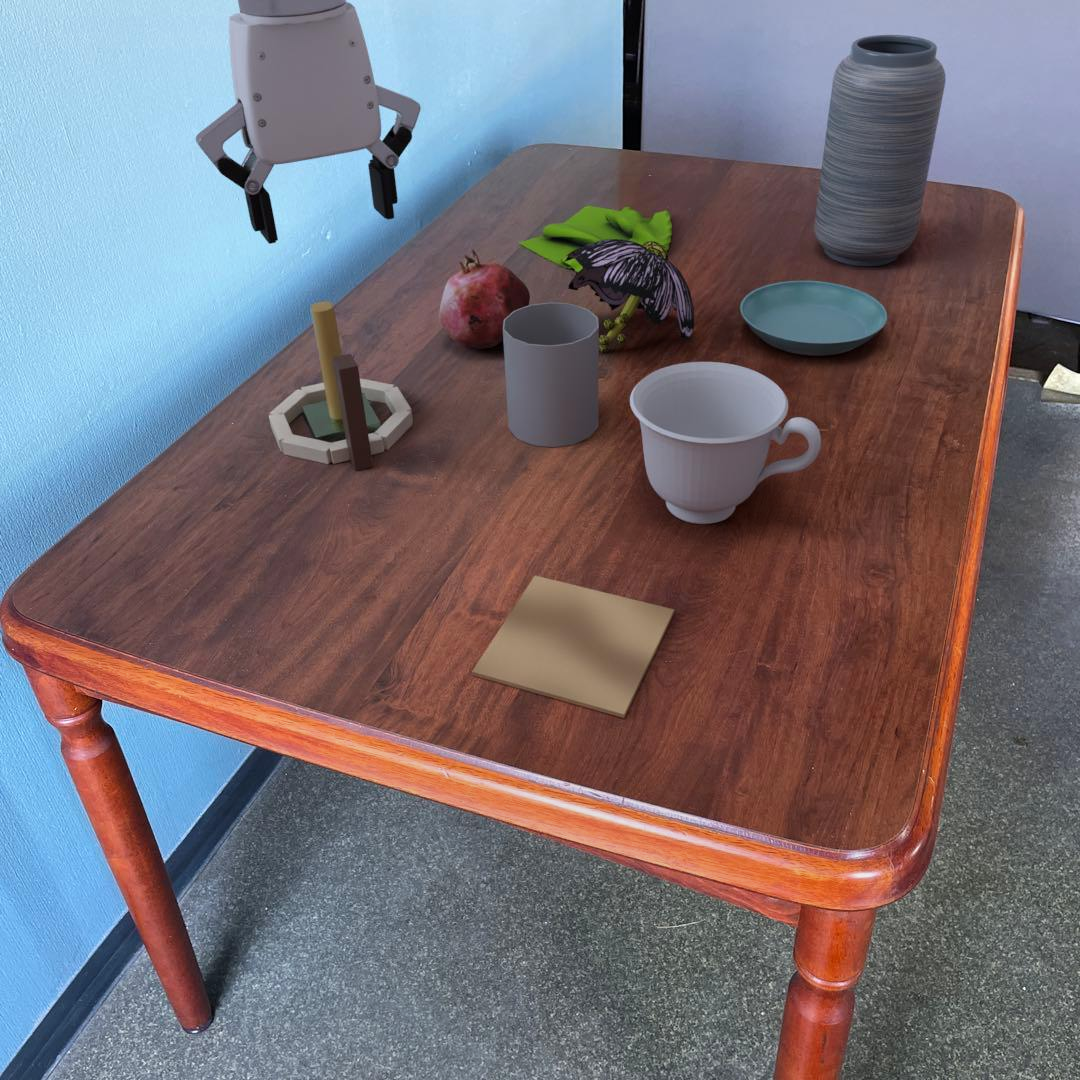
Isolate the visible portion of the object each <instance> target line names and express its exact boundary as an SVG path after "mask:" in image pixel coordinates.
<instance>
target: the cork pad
mask: <svg viewBox="0 0 1080 1080" xmlns="http://www.w3.org/2000/svg"><path fill="white" fill-rule="evenodd" d="M675 611H676V610H675V609H674V608H670V607H666V606H662V605H658V604H654V603H649V602H646V601H641V600H637V599H634V598H629V597H626V596H621V595H616V594H612V593H610V592H609V593H608V592H604V591H600V590H597V589H593V588H589V587H584V586H580V585H577V584H572V583H568V582H564V581H559V580H556V579H551V578H547V577H543V576H539V575H533V578H532V579H531V581H529V584H528V585H527V587H526V588H525V589H524V591H523V593H522V594H521V596H519V599H518V601H517V602H516V603H515V605H514V607H513V608H512V609H511V611H510V612H509V614H508V616H507V617H506V619H505V621H504V622H503V624H502V625H501V626H500V628H499V630H498V631H497V632H496V634H495V635H494V637H493V639H492V640H491V642H490V643H489V645H488V646H487V648H486V649H485V650H484V652H483V654H482V655H481V657H480V658H479V660H478V661H477V662H476V665H475V666H474V667H473V669H472V671H471V675H472V676H474V677H476V678H481V679H484V680H488V681H490V682H493V683H494V682H495V683H498V684H501V685H505V686H509V687H512V688H515V689H519V690H522V691H527V692H530V693H532V694H536V695H541V696H544V697H548V698H551V699H555V700H559V701H562V702H564V703H568V704H572V705H577V706H580V707H583V708H586V709H590V710H593V711H597V712H601V713H604V714H608V715H611V716H615V717H619V718H621V719H625V718H626V716H627V713H628V712H629V709H630V707H631V706H632V703H633V701H634V699H635V697H636V694H637V693H638V690H639V689H640V686H641V685H642V683H643V680H644V677H645V676H646V674H647V672H648V670H649V668H650V665H651V664H652V661H653V659H654V657H655V655H656V653H657V651H658V649H659V647H660V645H661V642H662V641H663V639H664V637H665V634H666V632H667V630H668V627H669V625H670V623H671V622H672V619H673V617H674V615H675Z"/></svg>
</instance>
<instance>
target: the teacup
mask: <svg viewBox="0 0 1080 1080" xmlns="http://www.w3.org/2000/svg"><path fill="white" fill-rule="evenodd" d="M629 406H630V408H631V411H632V412H633V414H634V416H635V417H636V418H637V419H638V420H639V424H640V430H641V431H640V432H641V440H642V450H643V451H642V452H643V460H644V466H645V472H646V475H647V479H648V482H649V483H650V485H651V487H652V489H653V490H654V492H656V494H657V495H658V496H659V497H660V498H661V499H662V500H664V501H665V505H666V506H665V507H666V508H667V510H668V511H669V512H670V513H671V515H673V516H674V517H676V518H678V519H680V520H682V521H684V522H686V523H690V524H697V525H698V524H699V525H709V524H714V523H715V524H716V523H719V522H722V521H725V520H727V519H728V518H729V517H731V516H732V515H733V514H734V512H735V510H736V507H737V506H739V505H740V504H742V503H743V502H745V500H748V498H749V497H750V496H751V495H752V494H753V492H754V491H755V490H756V488H757V486H758V485H759V484H760V483H761V482H763V481H764V480H765V479H767V478H768V477H770V476H774V475H779V474H792V473H797V472H799V471H803V470H804V469H806V468H808V467H809V466H810V465H812V464H813V463H814V461H815V460H816V459H817V457H818V455H819V453H820V451H821V446H822V445H821V444H822V436H821V433H820V429H819V428H818V426H817V425H816V424H815V422H813V421H812V420H810V419H808V418H806V417H800V416H798V417H792V418H790V419H788V420H787V421H786V423H785V424H784V426H783V428H782V427H781V426H780V424H782V422H783V421H784V419H786V416H787V414H788V411H789V400H788V398H787V396H786V394H785V392H784V390H782V388H780V387H779V385H778V384H777V383H775V382H774V381H773V380H772V379H770V378H769V377H767V375H764V374H762V373H761V372H758V371H756V370H753V369H751V368H748V367H744V366H741V365H737V364H732V363H726V362H719V361H717V362H716V361H691V362H683V363H675V364H672V365H668V366H665V367H662V368H659V369H656V370H654V371H652V372H651V373H648V374H647V375H646V376H645V377H643V378H642V379H640V381H639V382H637V384H635V386H634V387H633V389H632V391H631V393H630V395H629ZM792 433H796V434H799V435H802V436H803V437H804V438H805V439H806V440H807V443H808V448H807V450H806V451H805V452H804V453H803V454H801V455H799V456H798V457H794V458H786V459H780V460H777V461H774V462H771V463H770V464H767V466H765V465H766V461H767V458H768V453H769V450H770V447H771V446H770V445H771V443H772V442H771V441H774V442H775V443H776V444H777V445H783V444H784V443H786V441H787V439H788V437H789V435H790V434H792Z"/></svg>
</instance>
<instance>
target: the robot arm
mask: <svg viewBox="0 0 1080 1080" xmlns="http://www.w3.org/2000/svg"><path fill="white" fill-rule="evenodd" d="M237 3H238V8H239V12H237V13H233V14H232V15H230V16H229V20H228V36H229V37H228V39H229V40H228V41H229V55H230V68H231V76H232V85H233V93H234V99H235V104H234V105H233V106H231V107H230V108H229V109H228V110H227V111H225V112H224V113H222V114H221V115H220V116H219V117H218V118H216V119H215V120H214V121H213V122H211V123H210V124H209V125H208V126H206V127H205V128H203V130H201V131H200V132H198V134H197V135H196V136H195V142H196V144H197V146H198V147H199V148H200V150H202V153H204V155H206V157H207V158H208V159H209V161H211V163H212V164H213V165H214V166H215V168H216V169H217V170H218V172H219V173H220V174H221V175H222V176H223V177H225V178H226V179H228V180H229V181H231V182H232V183H234V184H235V185H237V186H238V187H240V188H241V189H242V190H244V195H245V200H246V206H247V210H248V215H249V216H248V217H249V220H250V225H251V227H252V230H254V232H255V233H256V232H260V234H261V236H262V237H263V238H264V240H265V241H266V242H267V243H268V244H269V245H271V244H276V243H277V241H278V240H279V238H278V233H277V227H276V222H275V216H274V211H273V207H272V200H271V196H270V193H269V192H268V190H267V189H266V188H265V186H264V184H265V182H266V180H267V179H268V177H269V175H270V173H271V172H272V171H273V168H274V166H275V165H284V164H293V163H297V162H303V161H308V160H315V159H319V158H320V159H321V158H325V157H330V156H335V155H342V154H348V153H351V152H352V153H353V152H357V151H361V150H364V149H366V150H367V151H368V152H369V153H370V154H371V159H369V163H368V164H367V165H368V174H369V182H370V190H371V196H372V198H371V199H372V204H373V208H374V210H375V211H376V212H377V213H378V214H379V215H381V217H382V218H384V219H386V220H393V219H394V218H395V211H394V205H395V204H396V205H397V204H398V200H399V199H398V191H397V183H396V173H395V168H396V167H398V165H399V163H400V159H399V158H400V157H401V156H402V154H403V153H404V152H405V150H406V148H407V147H408V146H409V144H410V142H411V141H412V139H413V131H414V130H415V127H416V124H417V121H418V119H419V116H420V113H421V108H422V107H421V104H420V103H419V102H418V101H416V100H415V99H414V98H412V97H409V96H406V95H404V94H402V93H399V92H396V91H393V90H391V89H388V88H386V87H384V86H381V85H378V84H376V82H375V78H374V72H373V68H372V64H371V59H370V55H369V51H368V47H367V43H366V39H365V36H364V32H363V27H362V25H361V22H360V18H359V16H358V12H357V10H356V7H355V6H354V5H353V4H352V3H350V2H349V1H347V0H237ZM380 107H383V108H386V109H389V110H391V111H394V112H395V113H396V117H395V121H394V124H393V125H392V126H391V128H390V129H389V131H387V133H386V135H385V137H383V139H382V140H381V136H382V119H381V111H380ZM239 132H240V134H241V139H242V141H243V144H244V146H245V147H246V148H248V149H249V150H248V152H247V153H246V156H245V157H244V159H243V161H242V163H241V164H240V163H239V162H237V161H235V160H234V159H232V158H231V157H230V156H228V154H227V153H226V151H225V150H224V144H225V143H226V142H227V141H228V140H229V139H230V138H232V137H233V136H235V135H236V134H237V133H239Z"/></svg>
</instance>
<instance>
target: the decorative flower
mask: <svg viewBox="0 0 1080 1080" xmlns="http://www.w3.org/2000/svg"><path fill="white" fill-rule="evenodd" d="M566 256H568V257H567V259H566V260H565V261H568V260H571V259H574V258H575V259H576V260H577V262H578V263H579V264H580V265H582V267H583V268H582V269H581V270H580V271H579V272H578V273H577V272H576V274H575V275H574V276H573V278H572V279H571V280H570V282H569V284H568V286H567V290H573V291H578V290H579V289H581V288H583V287H587V286H589V288H590V290H592V291H594V292H595V293H594V296H596V297H597V298H598V297H599V302H601V303H602V302H603V303H607V305H608V307H610V311H611V312H613V311H615V310H616V309H617V308H619V307H620V306H622V305H623V304H624V303H625V305H624V306H623V309H622V310H621V312H620V314H619V316H616V317H615V319H614V320H613V319H610V318H607V319H605V320H604V322H603V326H604V328H605V330H609V331H608V333H607V334H601V335H599V351H600V352H601V353H607V352H609V349H610V345H609V342H610V341H612V340H613V339H614V338H615V337H616V341H617V343H618V344H619V345H623V344H625V343H627V341H628V336H627V334H626V333H620V332H621V331H623V329H624V328H625V327H626V326H627V324H628V322H629V321H630V319H631V317H632V316H633V314H634V313H635V311H636V310H638V311H639V310H643V314H645V315H646V317H647V318H649V320H650V321H651V322H653V324H654V325H655V326H659V325H661V324H662V323H664V322H665V321H666V319H667V318H668V316H669V314H670V312H671V310H672V308H673V309H674V311H676V317H677V324H678V331H679V335H680V337H681V339H682V341H684V340H690V339H691V338H692V334H693V333H692V332H693V331H694V328H695V310H694V309H695V308H694V303H693V297H692V294H691V291H690V288H689V286H688V283H687V281H686V279H685V278H684V276H683V274H682V273H681V271H680V270H679V269H678V268H677V267H676V266H675V265H674V264H673V263H672V262H671V261H669V254H668V250H667V251H666V248H665V247H664V246H662V245H661V244H660V243H657V242H655V241H654V242H652V241H648V242H645V243H644V244H642V245H640V244H638V243H636V242H633V241H628V240H621V239H609V240H602V241H598V242H594V243H590V244H588V245H585V246H583V247H580V248H578V249H576V250H574V251H572V252H571V253H569V254H568V255H566ZM565 261H564V262H565Z"/></svg>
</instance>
